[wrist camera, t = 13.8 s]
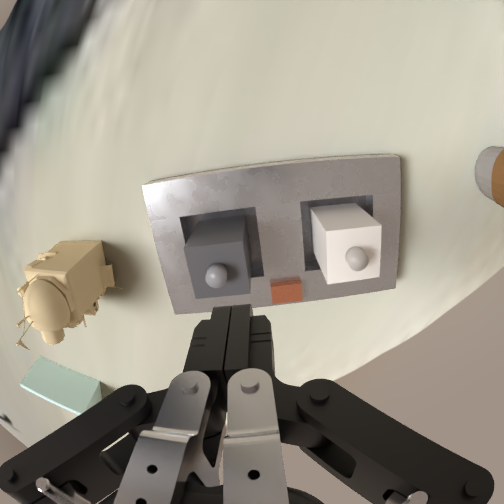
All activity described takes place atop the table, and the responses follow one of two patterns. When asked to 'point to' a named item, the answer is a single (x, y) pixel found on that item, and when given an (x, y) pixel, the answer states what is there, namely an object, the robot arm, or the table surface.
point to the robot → (64, 287)
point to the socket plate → (275, 224)
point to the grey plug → (219, 257)
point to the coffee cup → (491, 174)
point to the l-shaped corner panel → (62, 386)
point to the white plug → (346, 242)
